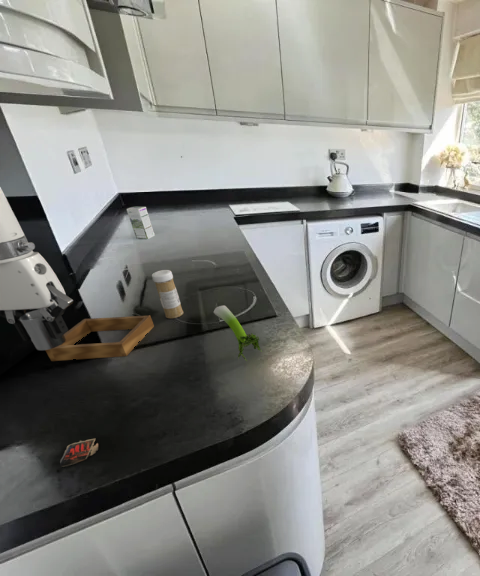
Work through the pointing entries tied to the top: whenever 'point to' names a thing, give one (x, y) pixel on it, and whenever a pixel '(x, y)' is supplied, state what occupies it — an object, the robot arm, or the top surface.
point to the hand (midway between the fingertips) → (46, 335)
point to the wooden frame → (102, 350)
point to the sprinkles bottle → (167, 293)
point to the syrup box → (140, 222)
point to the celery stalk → (237, 329)
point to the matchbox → (78, 452)
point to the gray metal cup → (39, 331)
